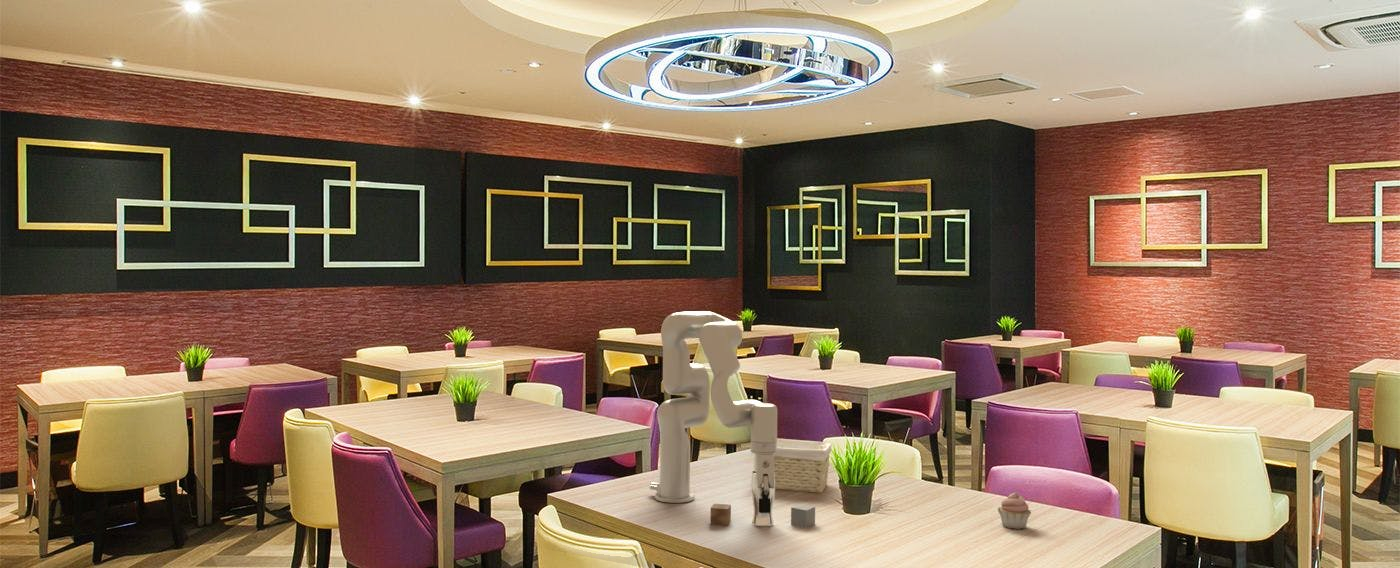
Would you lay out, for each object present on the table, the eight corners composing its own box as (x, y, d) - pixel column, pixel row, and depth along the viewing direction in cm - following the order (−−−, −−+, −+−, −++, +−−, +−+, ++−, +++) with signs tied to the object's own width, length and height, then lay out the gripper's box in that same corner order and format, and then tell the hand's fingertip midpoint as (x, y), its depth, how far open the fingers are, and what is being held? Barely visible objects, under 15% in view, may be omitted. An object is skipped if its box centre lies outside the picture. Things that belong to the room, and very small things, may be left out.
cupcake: (1014, 532, 257) (1015, 497, 256) (990, 524, 265) (990, 490, 265) (1038, 528, 261) (1039, 494, 261) (1013, 520, 269) (1014, 486, 269)
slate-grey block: (790, 524, 262) (791, 507, 262) (800, 521, 266) (800, 504, 266) (806, 527, 259) (806, 510, 259) (814, 524, 263) (815, 506, 263)
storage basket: (832, 484, 313) (832, 441, 312) (825, 495, 297) (826, 450, 297) (763, 479, 319) (764, 436, 319) (753, 489, 304) (754, 445, 303)
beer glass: (773, 528, 258) (774, 475, 258) (748, 526, 259) (749, 474, 259) (776, 521, 265) (777, 470, 264) (752, 520, 266) (753, 468, 266)
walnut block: (710, 525, 261) (710, 507, 261) (713, 520, 266) (714, 503, 265) (727, 526, 260) (727, 509, 259) (730, 521, 264) (730, 504, 264)
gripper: (780, 453, 253) (780, 517, 253) (773, 441, 270) (772, 501, 271) (754, 453, 253) (753, 517, 253) (747, 441, 270) (746, 501, 270)
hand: (762, 508), depth 262 cm, fingers closed on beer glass, 6 cm apart
